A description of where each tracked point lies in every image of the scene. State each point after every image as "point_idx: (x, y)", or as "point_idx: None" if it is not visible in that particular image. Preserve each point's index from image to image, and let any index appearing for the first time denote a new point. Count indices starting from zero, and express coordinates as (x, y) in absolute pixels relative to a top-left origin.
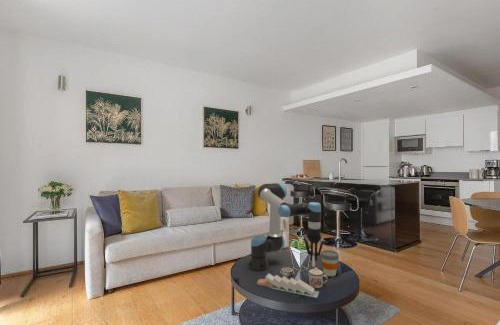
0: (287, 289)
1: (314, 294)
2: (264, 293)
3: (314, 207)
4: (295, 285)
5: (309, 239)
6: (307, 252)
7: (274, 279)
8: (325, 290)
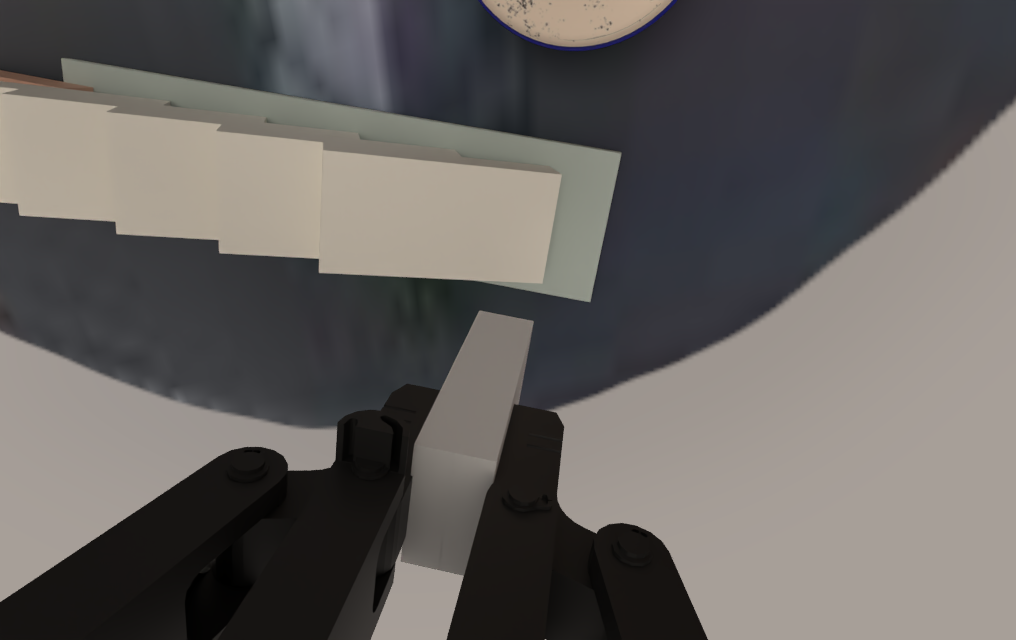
0: None
1: (562, 238)
2: (80, 305)
3: None
4: None
5: None
6: (207, 584)
7: (42, 213)
8: (710, 71)
